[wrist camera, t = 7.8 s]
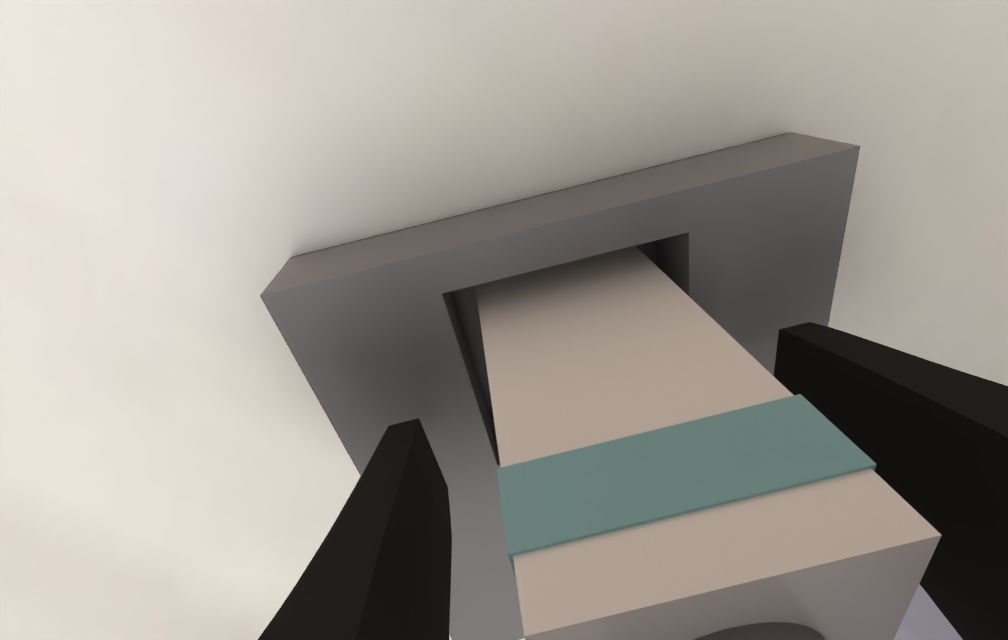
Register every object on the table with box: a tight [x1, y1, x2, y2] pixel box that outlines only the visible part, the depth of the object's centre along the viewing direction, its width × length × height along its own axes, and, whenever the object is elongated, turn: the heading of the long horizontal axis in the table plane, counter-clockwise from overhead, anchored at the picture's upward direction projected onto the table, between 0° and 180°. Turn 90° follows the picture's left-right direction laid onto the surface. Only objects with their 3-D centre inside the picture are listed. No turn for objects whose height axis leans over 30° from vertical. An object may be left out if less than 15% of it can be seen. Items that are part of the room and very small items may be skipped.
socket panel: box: [260, 133, 860, 640], centre depth 13 cm, size 12×15×2 cm
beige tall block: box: [475, 246, 942, 640], centre depth 8 cm, size 4×4×9 cm
